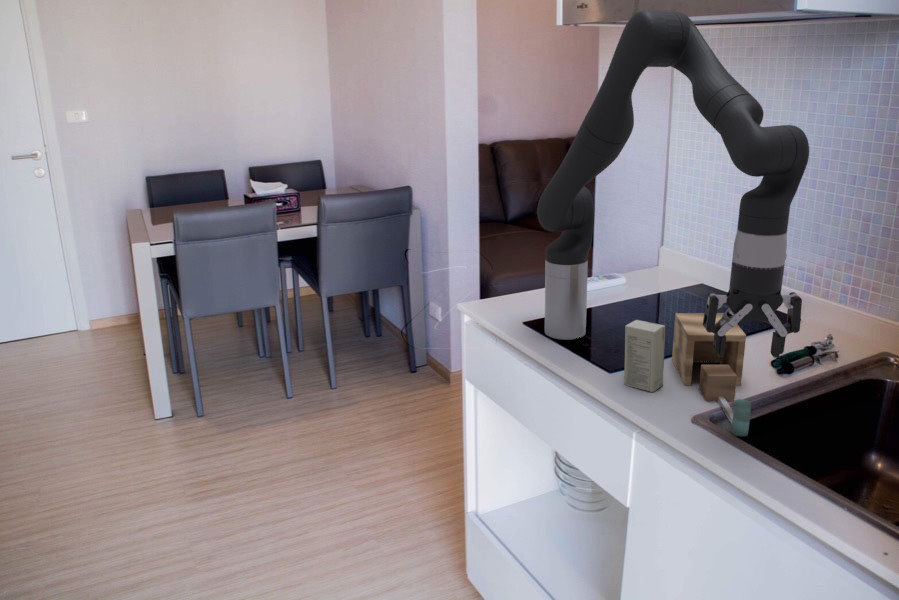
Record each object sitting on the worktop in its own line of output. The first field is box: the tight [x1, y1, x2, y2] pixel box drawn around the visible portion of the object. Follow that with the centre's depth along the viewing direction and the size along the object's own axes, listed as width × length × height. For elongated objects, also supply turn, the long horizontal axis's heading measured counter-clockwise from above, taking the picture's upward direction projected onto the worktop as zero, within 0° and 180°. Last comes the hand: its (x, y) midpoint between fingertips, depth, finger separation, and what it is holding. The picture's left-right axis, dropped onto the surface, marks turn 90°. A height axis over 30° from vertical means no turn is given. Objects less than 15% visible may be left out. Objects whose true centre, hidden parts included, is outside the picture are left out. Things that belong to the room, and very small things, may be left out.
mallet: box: [698, 364, 752, 437], centre depth 131 cm, size 18×5×6 cm, turn 176°
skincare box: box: [623, 319, 666, 393], centre depth 140 cm, size 6×4×12 cm
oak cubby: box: [671, 312, 747, 387], centre depth 145 cm, size 12×10×10 cm
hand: (747, 355), depth 120 cm, fingers open, 8 cm apart
